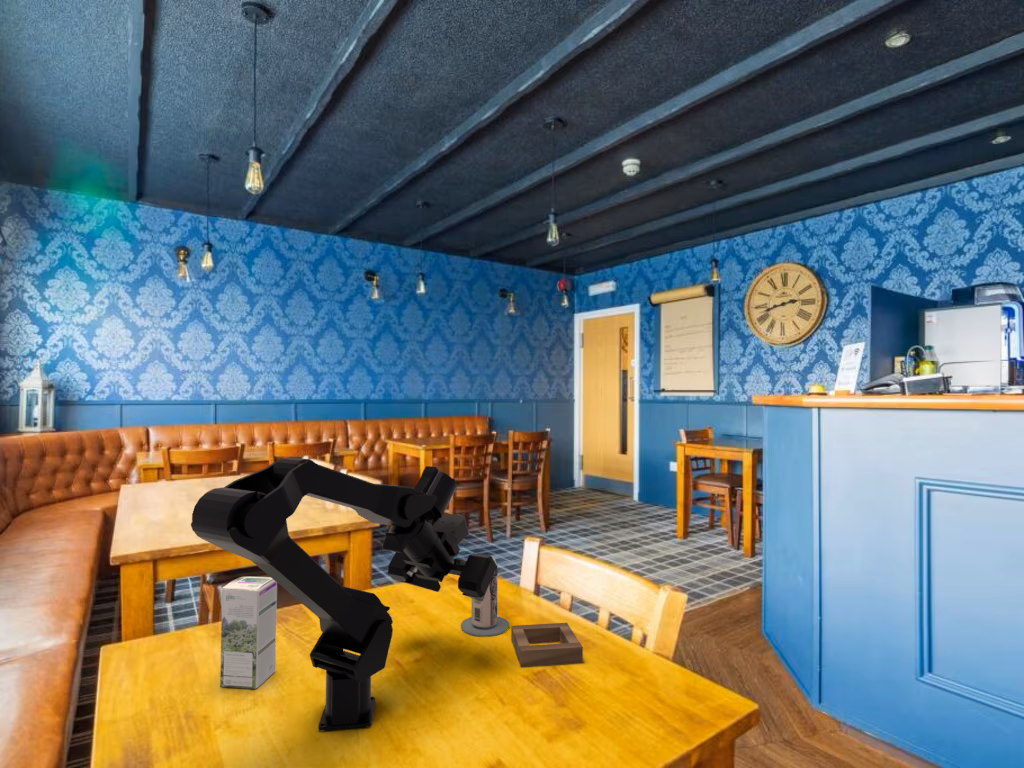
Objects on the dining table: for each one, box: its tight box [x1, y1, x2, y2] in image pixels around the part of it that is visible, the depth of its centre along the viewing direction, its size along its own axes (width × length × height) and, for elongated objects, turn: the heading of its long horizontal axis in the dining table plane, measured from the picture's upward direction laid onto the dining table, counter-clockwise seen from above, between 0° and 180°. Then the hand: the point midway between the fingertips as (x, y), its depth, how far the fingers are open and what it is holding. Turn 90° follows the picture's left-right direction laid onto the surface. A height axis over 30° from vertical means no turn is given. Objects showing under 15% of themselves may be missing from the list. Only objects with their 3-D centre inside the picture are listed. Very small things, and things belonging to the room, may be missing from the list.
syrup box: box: [219, 575, 278, 690], centre depth 82 cm, size 6×6×14 cm
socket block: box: [510, 622, 584, 668], centre depth 92 cm, size 10×10×2 cm
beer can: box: [471, 556, 499, 629], centre depth 102 cm, size 5×5×12 cm
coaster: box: [460, 615, 510, 638], centre depth 102 cm, size 9×9×1 cm
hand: (460, 593), depth 95 cm, fingers open, 9 cm apart
